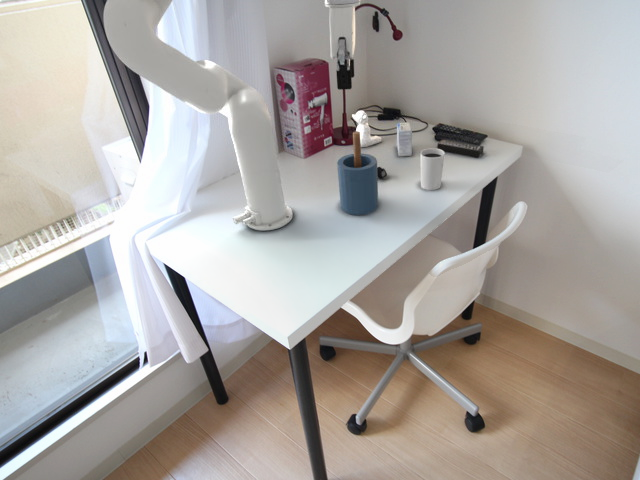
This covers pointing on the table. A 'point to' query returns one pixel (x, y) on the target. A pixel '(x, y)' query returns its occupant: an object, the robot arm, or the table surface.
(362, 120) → the sitting furry creature
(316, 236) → the table surface
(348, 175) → the cup
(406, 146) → the medicine box
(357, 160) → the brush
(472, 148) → the multiport hub
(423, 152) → the white tumbler
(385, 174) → the electric trimmer
